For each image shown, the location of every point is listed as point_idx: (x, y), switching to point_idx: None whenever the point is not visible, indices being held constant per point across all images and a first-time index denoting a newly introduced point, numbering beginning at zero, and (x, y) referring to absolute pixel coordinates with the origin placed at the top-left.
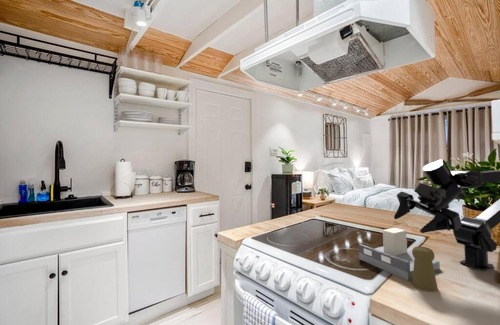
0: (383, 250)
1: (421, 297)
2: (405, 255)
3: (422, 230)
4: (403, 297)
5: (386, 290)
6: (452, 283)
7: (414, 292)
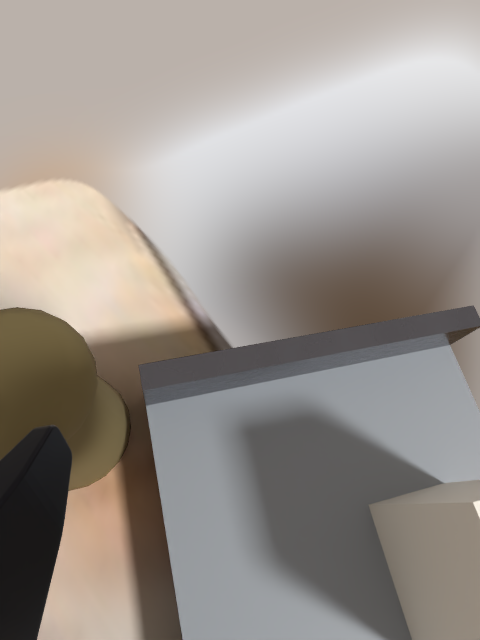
0: None
1: None
2: (361, 588)
3: (24, 442)
4: (40, 262)
5: (111, 243)
6: None
7: None
